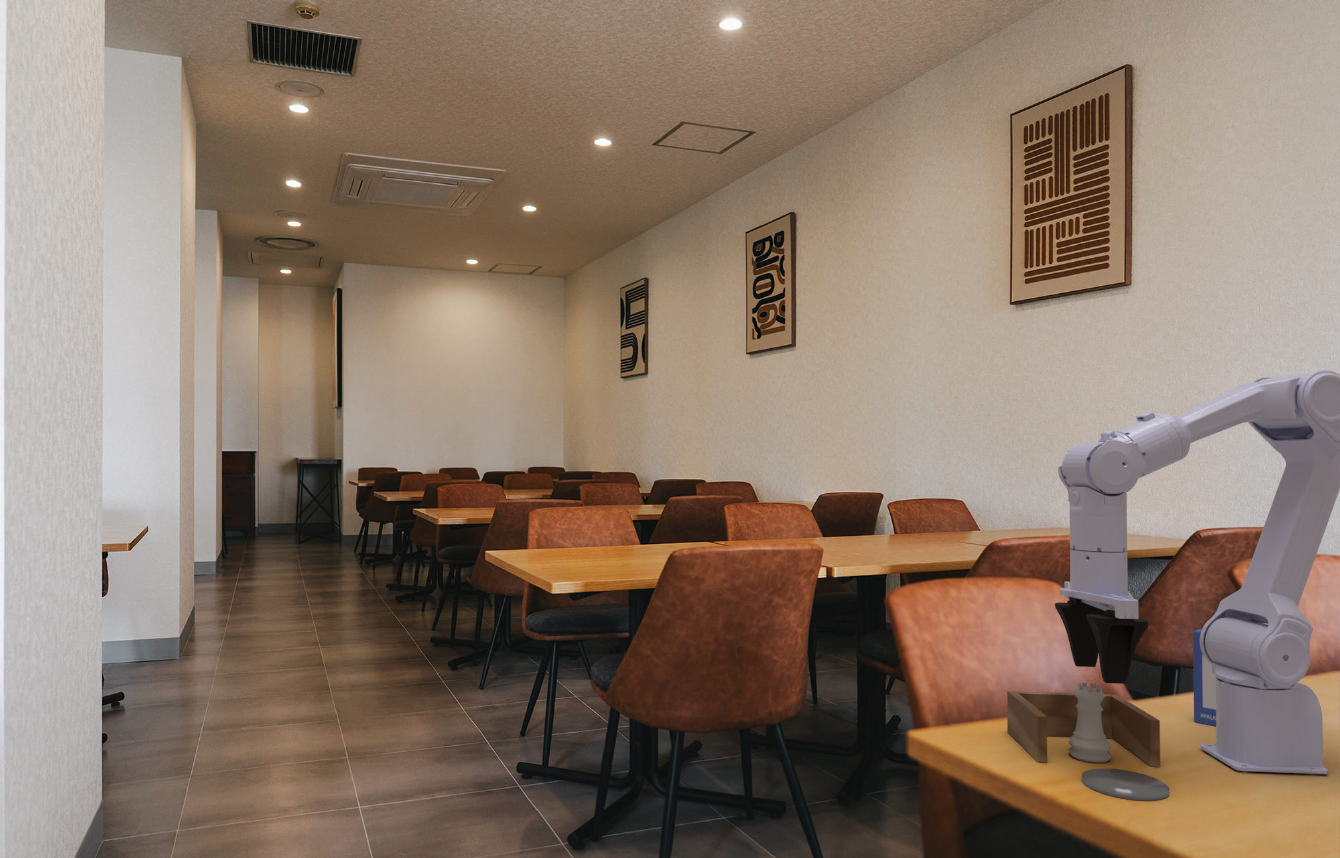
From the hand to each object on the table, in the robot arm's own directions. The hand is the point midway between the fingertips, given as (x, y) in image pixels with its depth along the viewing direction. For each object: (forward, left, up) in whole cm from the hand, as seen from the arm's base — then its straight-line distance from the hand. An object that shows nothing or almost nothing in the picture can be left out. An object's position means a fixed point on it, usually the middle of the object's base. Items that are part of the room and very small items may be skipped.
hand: (1099, 674), depth 97 cm
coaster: (0, +6, -10) cm, 12 cm away
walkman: (-23, -17, -10) cm, 30 cm away
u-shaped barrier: (0, -6, -10) cm, 11 cm away
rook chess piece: (0, -3, -10) cm, 10 cm away
